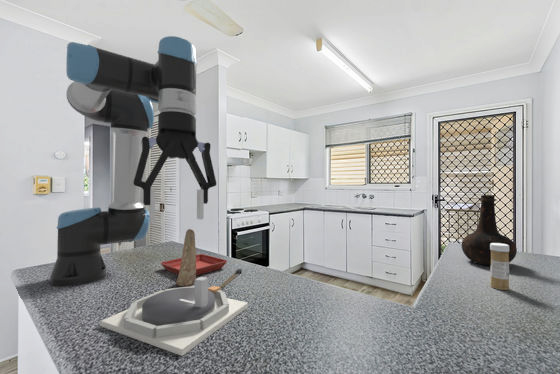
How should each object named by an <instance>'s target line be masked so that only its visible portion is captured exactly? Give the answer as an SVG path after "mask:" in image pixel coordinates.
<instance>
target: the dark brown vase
mask: <svg viewBox="0 0 560 374" xmlns="http://www.w3.org/2000/svg"><path fill="white" fill-rule="evenodd" d="M495 196H496V195H493V194H482V195H481V196H480V197H481V198H480V199H479V201H480V211H479V219H478V223H477V227H476V229H475V230H474V231H473V232H472V233H469V234H467V235H465V236H464V237H463V239H462V240H461V245H460V246H461V250H462V252H463V255H465V257H466V258H467V259H468V260H469V261H471V262H473V263H475V264H479V265H483V266H488V267H491V249H490V244H491V243H502V244H507V245H509V264H510V263H512V261H514V259H515V257H516V256H517V251H518V250H517V246H516V244H515V242H514V241H513V240H512V239H510V238H509V237H507V236H506V235H502V234H501V233H500V232H499V230H498V227H497V226H498V225H497V220H496V219H497V218H496V208H495V201H496V202H497V201H498V199H496V198H495Z"/></svg>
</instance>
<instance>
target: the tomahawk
mask: <svg viewBox="0 0 560 374" xmlns="http://www.w3.org/2000/svg"><path fill="white" fill-rule="evenodd" d="M242 272H243V270H242V268H238V269H236V271H235V272H234V274H232V275H230V277H228V278H227V279H226V280H225V281H224V282H223V283H222V284H220V285H219V286H218V287H221V289H220V290H222V291H224V292H225V293H226V292H227V291H226V290H224V289H225V287H226V286H227V285H228V284H230V283H231V282H232V281H233V280H235V279H236V278H237V277H238V276H239V275H240V274H241V273H242Z"/></svg>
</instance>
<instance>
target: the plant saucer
mask: <svg viewBox="0 0 560 374" xmlns="http://www.w3.org/2000/svg"><path fill="white" fill-rule="evenodd" d="M181 259H182V257H180V258H176V259H171V260H166V261H161V262H160V265H161V266H162V267H163V268H164V269H165V270H166V271H168V272H170V273H174V274H175V275H177V276H179V270H180V265H181ZM227 263H228V260H226V259H223V258H219V257H216V256H211V255H208V254H204V253H200V254H199V253H198V254H196V276H200V275H203V274H207V273H210V272H211V273H212V272H214V271H218V270H221V269H223V267H224V266H225V265H226V264H227Z"/></svg>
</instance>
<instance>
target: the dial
mask: <svg viewBox="0 0 560 374" xmlns="http://www.w3.org/2000/svg"><path fill="white" fill-rule="evenodd" d="M194 286H195V288H181V287H178V288H179V289H173V290H168V291H165V290H164V292H161V293H158V294H156V295H154V296H152V297H150V298H148V299H147V300H146V301H145V302H144V303H143V305H142V320H143V321H144V322H146V323H149V324H152V325H155V326H161V325H168V324H174V323H181V322H187V321H194V320H200V319H201V318H203V317H205V316H206V315H208V314H209V313H211V312H213V311H214V308H215V295H214V294H213V293H212V292H211V291H209V290H208V288H209V278H208V277H204V276H200V277H196V279H195V283H194Z"/></svg>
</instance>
